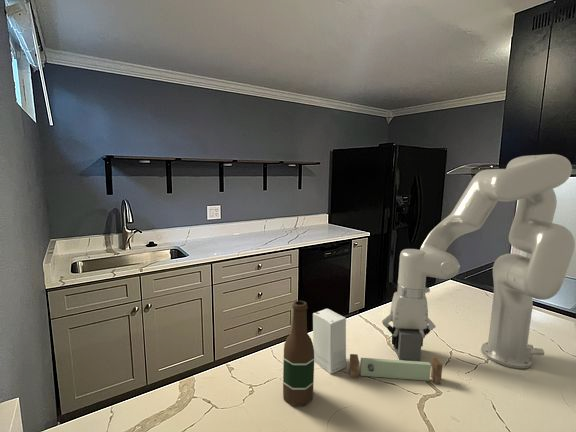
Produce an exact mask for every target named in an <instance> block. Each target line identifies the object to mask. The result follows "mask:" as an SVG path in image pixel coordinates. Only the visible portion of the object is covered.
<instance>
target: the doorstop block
mask: <svg viewBox="0 0 576 432" xmlns="http://www.w3.org/2000/svg"><path fill="white" fill-rule="evenodd" d="M398 337H399V340H398V349H395V347H394V345H393V350H394V351H395V354H396V355H397V357H398V358H397V359H398V360H404V361H418V362H421V356H422V354H421V353H422V347H421V344H422V335H421V333H420V332H419V330H418V329H400V331H399V333H398Z"/></svg>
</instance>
